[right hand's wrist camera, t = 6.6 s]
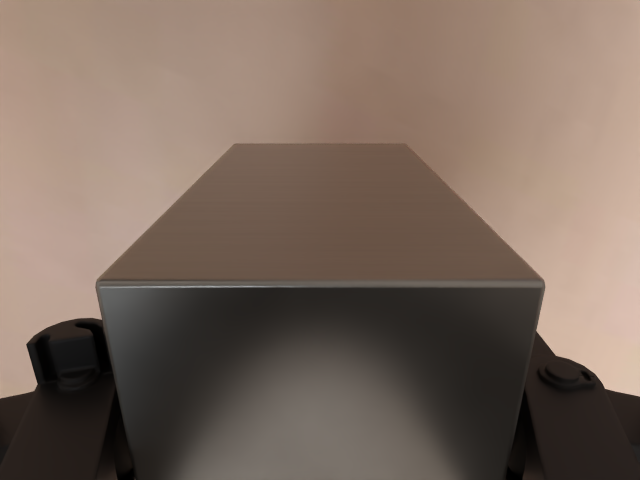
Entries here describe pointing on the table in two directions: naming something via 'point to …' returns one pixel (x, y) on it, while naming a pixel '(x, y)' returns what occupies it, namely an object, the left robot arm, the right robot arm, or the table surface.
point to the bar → (320, 324)
